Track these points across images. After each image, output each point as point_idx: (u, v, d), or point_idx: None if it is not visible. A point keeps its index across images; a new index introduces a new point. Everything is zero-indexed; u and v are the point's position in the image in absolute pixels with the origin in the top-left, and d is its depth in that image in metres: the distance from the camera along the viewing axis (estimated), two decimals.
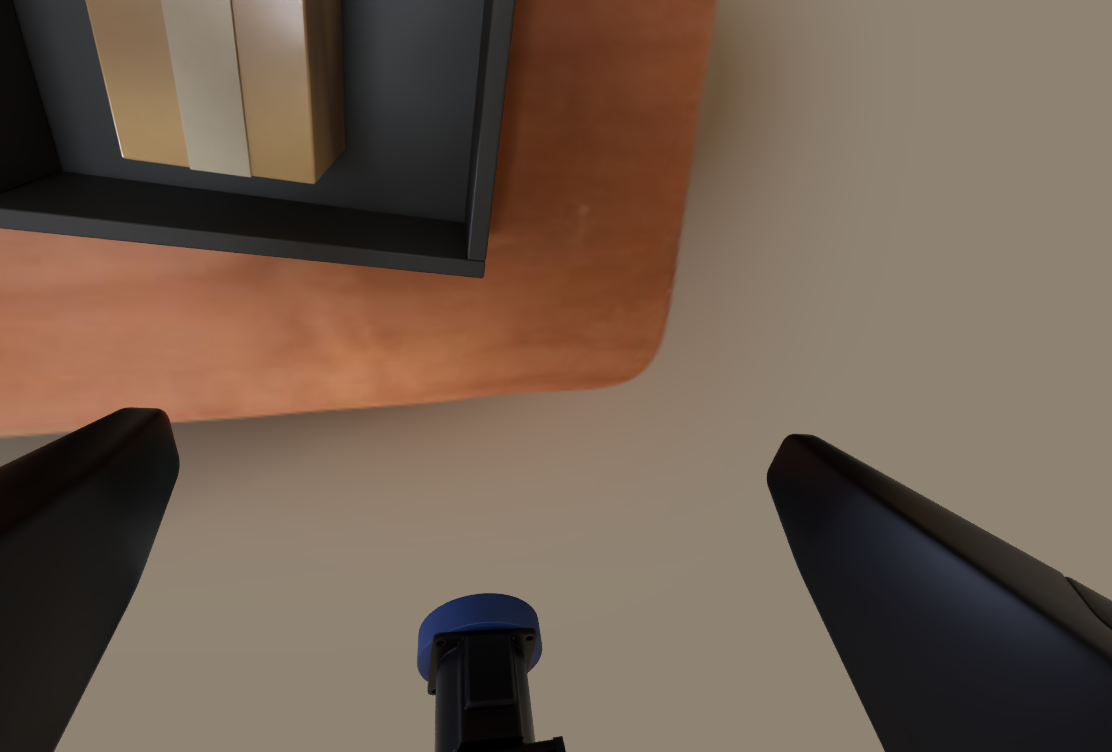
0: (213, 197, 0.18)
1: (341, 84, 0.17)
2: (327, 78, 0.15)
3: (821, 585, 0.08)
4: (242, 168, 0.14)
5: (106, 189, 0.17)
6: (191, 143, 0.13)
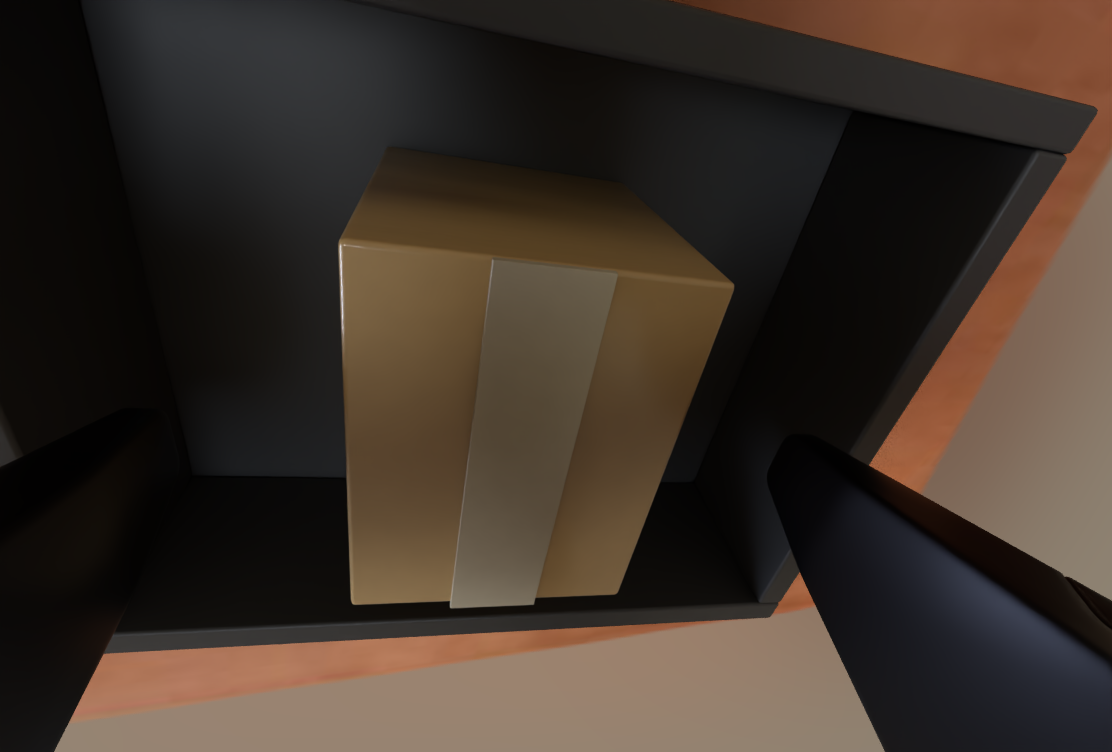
0: None
1: None
2: None
3: (821, 585, 0.08)
4: (525, 598, 0.09)
5: (261, 519, 0.12)
6: (459, 579, 0.08)
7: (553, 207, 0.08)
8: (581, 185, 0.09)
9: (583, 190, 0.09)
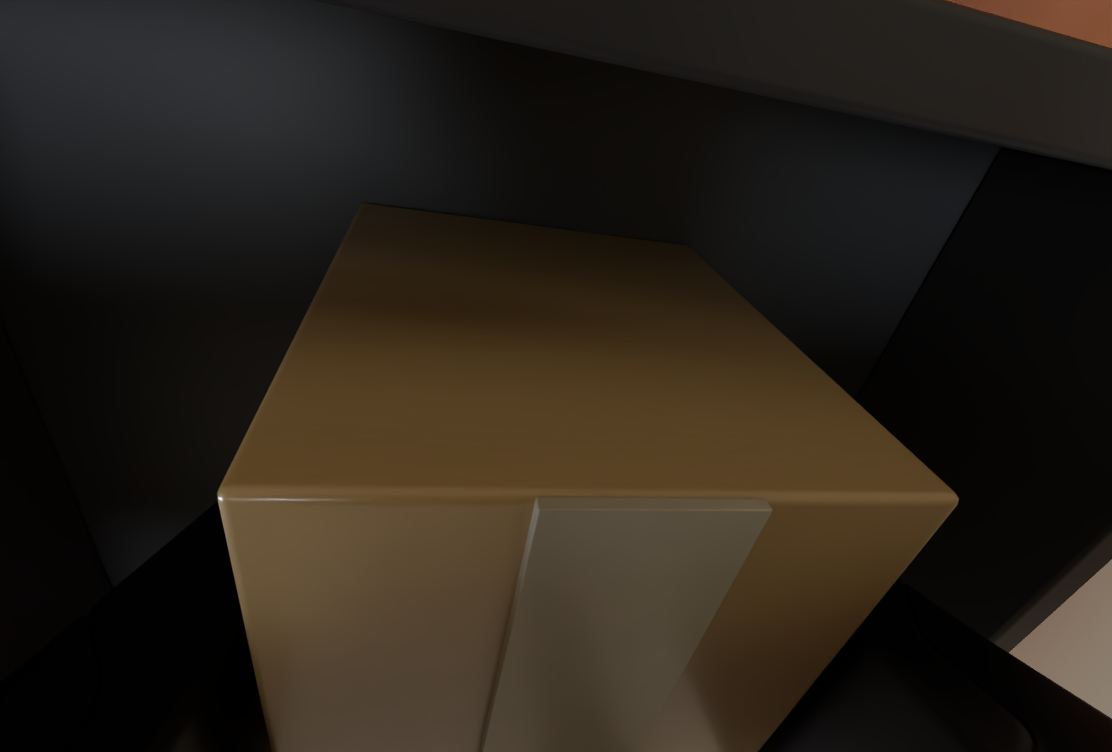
0: None
1: None
2: None
3: None
4: None
5: None
6: None
7: (612, 315, 0.05)
8: (637, 257, 0.07)
9: (642, 267, 0.06)
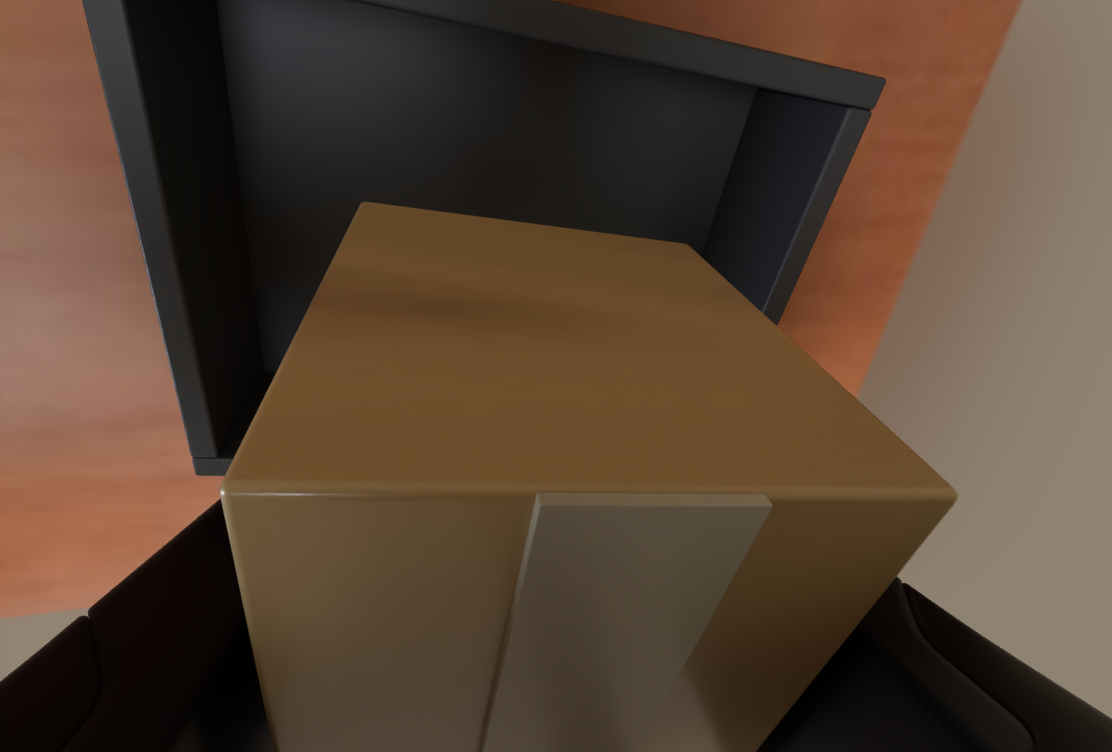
0: None
1: None
2: None
3: None
4: None
5: None
6: None
7: (612, 313, 0.05)
8: (637, 255, 0.07)
9: (643, 266, 0.06)
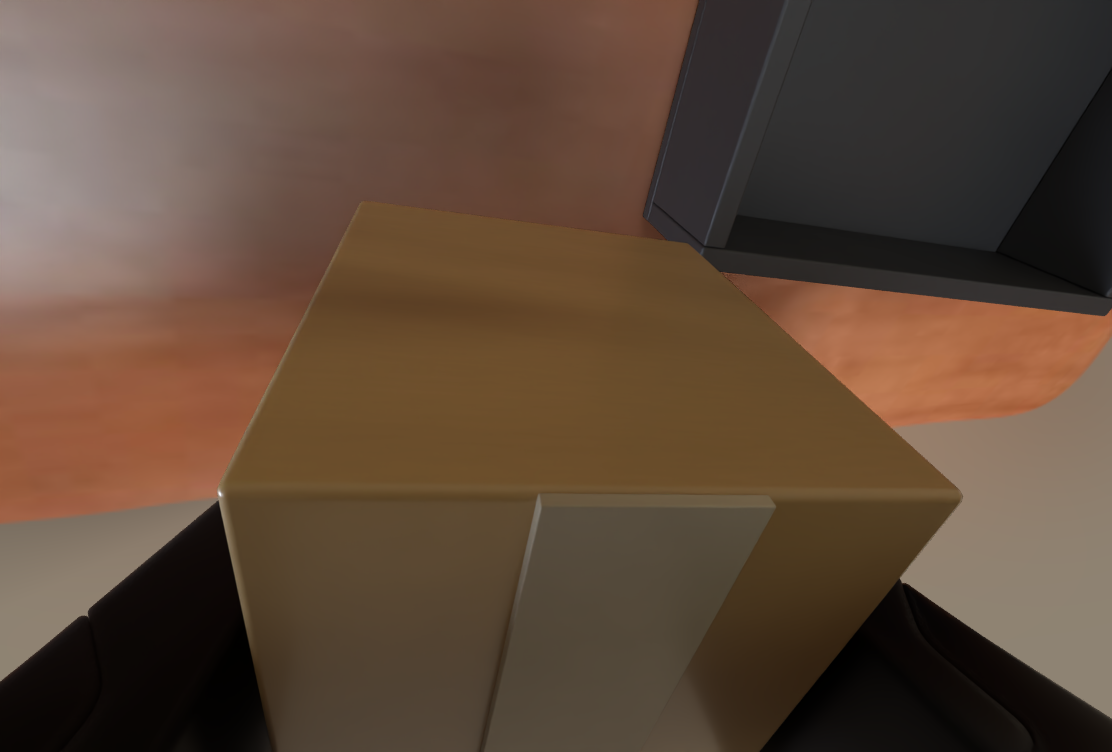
0: (812, 230, 0.17)
1: None
2: None
3: None
4: None
5: (742, 225, 0.16)
6: None
7: (613, 312, 0.05)
8: (638, 254, 0.07)
9: (644, 265, 0.06)
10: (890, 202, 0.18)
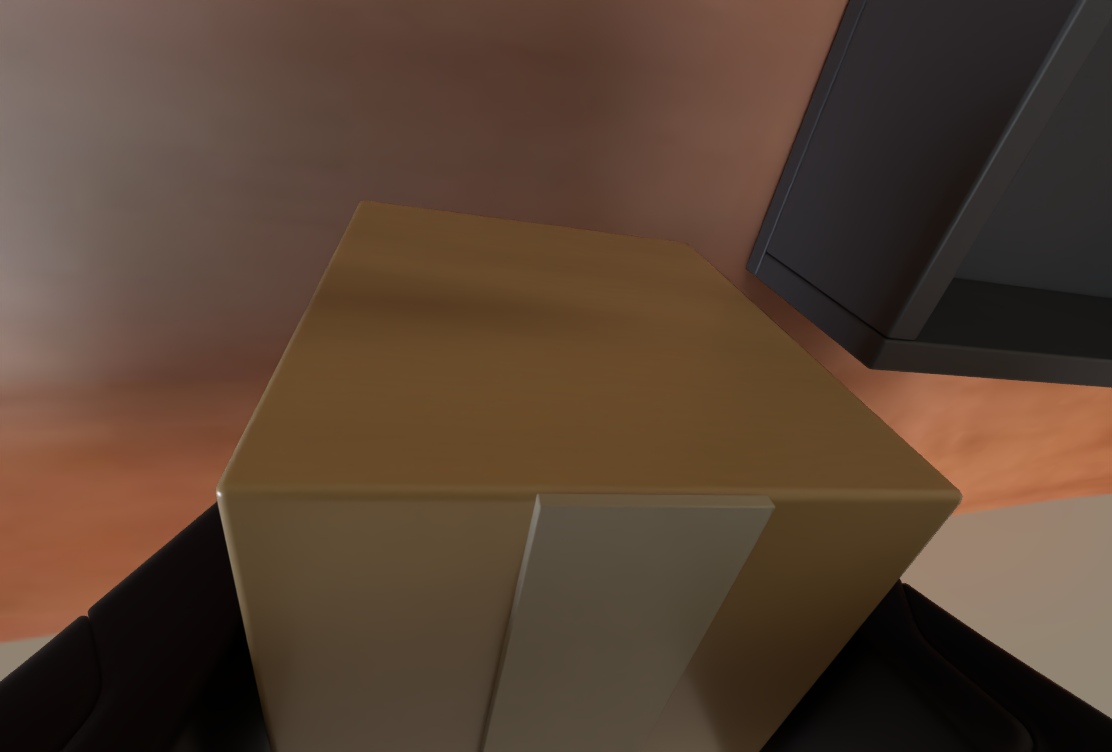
0: (975, 289, 0.12)
1: None
2: None
3: None
4: None
5: None
6: None
7: (613, 312, 0.05)
8: (638, 254, 0.07)
9: (643, 265, 0.06)
10: (1070, 248, 0.13)
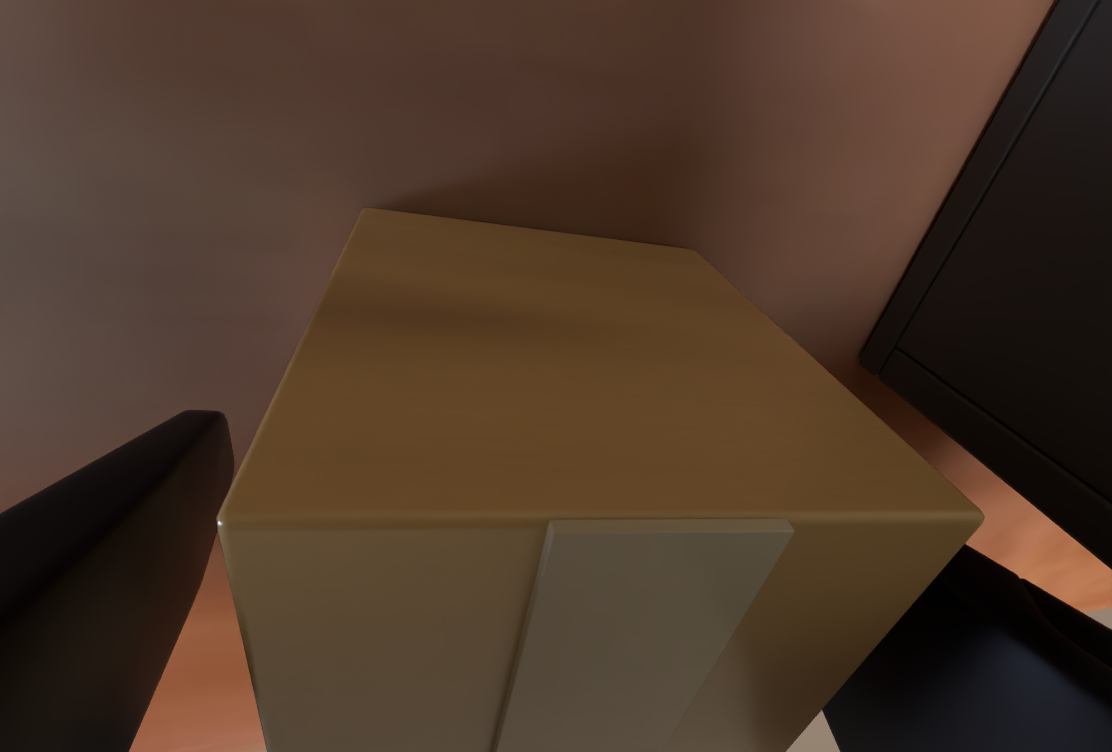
0: None
1: None
2: None
3: None
4: None
5: None
6: None
7: (621, 323, 0.05)
8: (644, 261, 0.07)
9: (650, 273, 0.06)
10: None
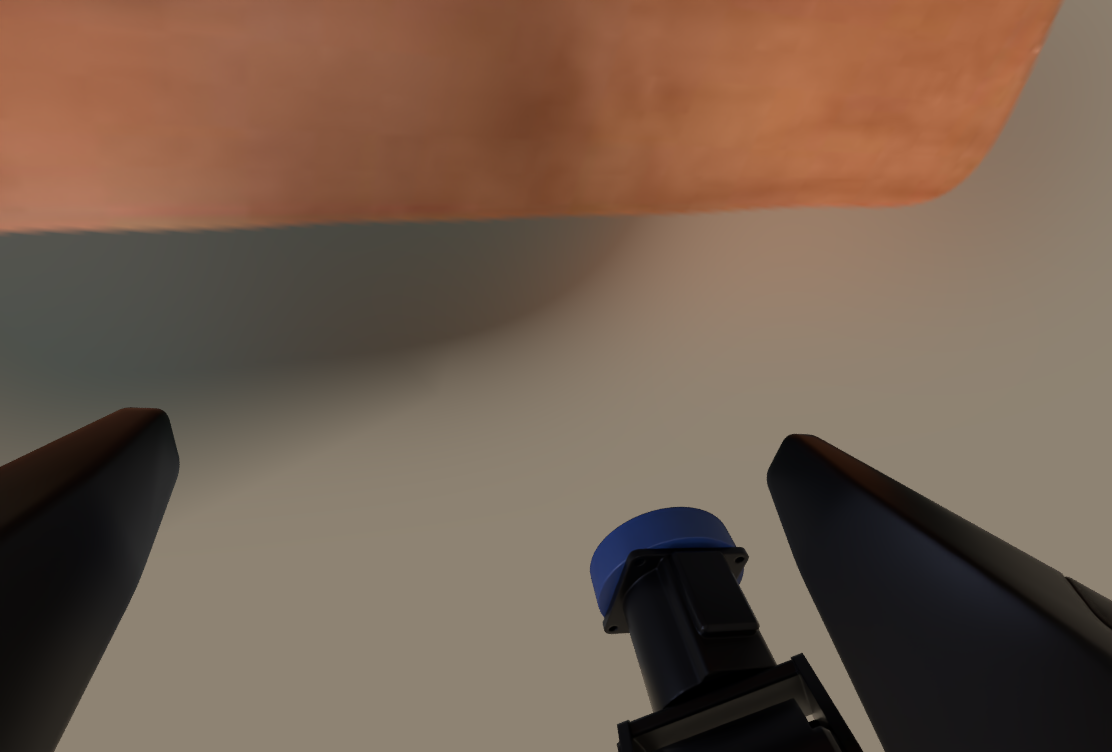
0: None
1: None
2: None
3: (821, 585, 0.08)
4: None
5: None
6: None
7: None
8: None
9: None
10: None
